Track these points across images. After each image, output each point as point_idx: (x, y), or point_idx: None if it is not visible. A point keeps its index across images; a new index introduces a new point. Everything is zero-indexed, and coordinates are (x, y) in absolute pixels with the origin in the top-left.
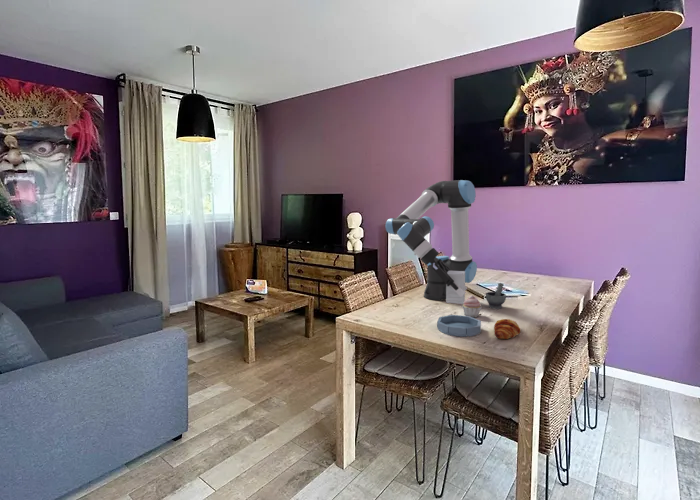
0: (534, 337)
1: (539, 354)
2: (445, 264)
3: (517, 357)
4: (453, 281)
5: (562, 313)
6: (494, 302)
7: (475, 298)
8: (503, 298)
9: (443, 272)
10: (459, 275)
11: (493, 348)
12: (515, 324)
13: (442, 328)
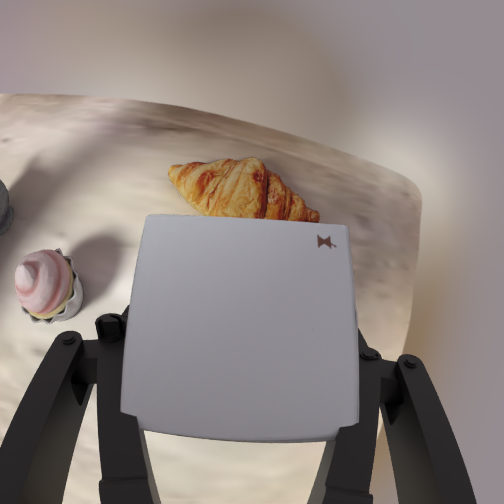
0: (249, 147)
1: (361, 159)
2: (6, 455)
3: (399, 201)
4: (373, 349)
5: (68, 99)
6: (3, 212)
7: (33, 259)
8: (2, 182)
9: (455, 446)
10: (349, 280)
11: (373, 245)
12: (258, 161)
13: None
